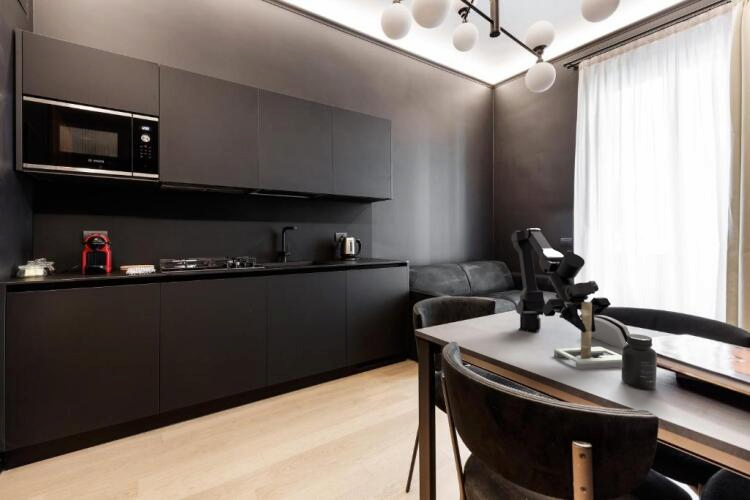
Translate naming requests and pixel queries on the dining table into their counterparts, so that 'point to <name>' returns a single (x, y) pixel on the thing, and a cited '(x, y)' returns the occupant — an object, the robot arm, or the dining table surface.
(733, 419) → the dining table surface
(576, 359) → the keyhole board
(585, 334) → the peg
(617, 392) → the dining table surface
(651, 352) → the supplement bottle
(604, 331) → the grey curved piece
